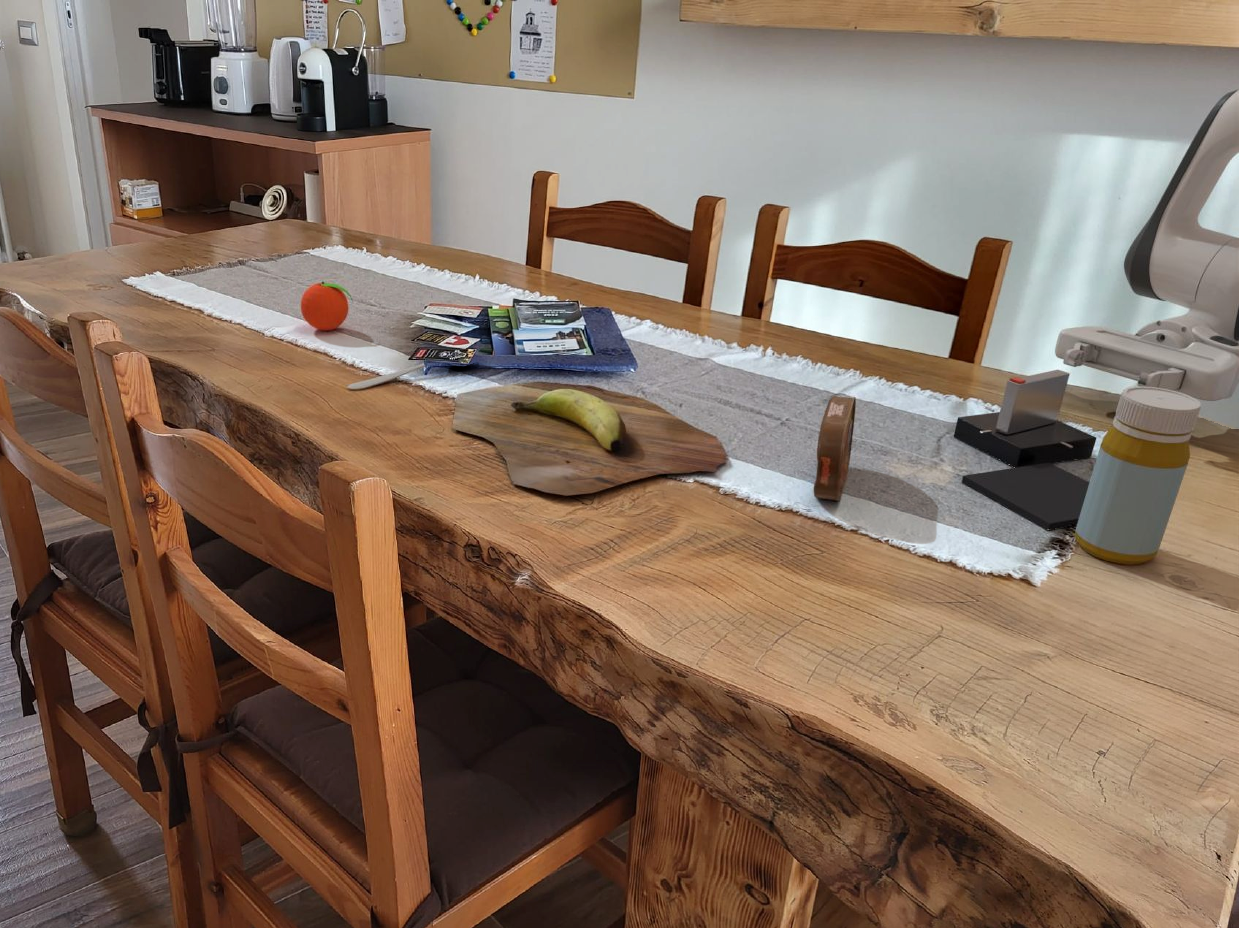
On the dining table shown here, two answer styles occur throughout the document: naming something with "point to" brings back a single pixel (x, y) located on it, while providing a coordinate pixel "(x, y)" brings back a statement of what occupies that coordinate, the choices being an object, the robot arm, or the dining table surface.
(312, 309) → the clementine
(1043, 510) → the mat
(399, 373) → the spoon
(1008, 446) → the base
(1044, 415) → the tap lever
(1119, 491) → the bottle
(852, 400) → the tin
